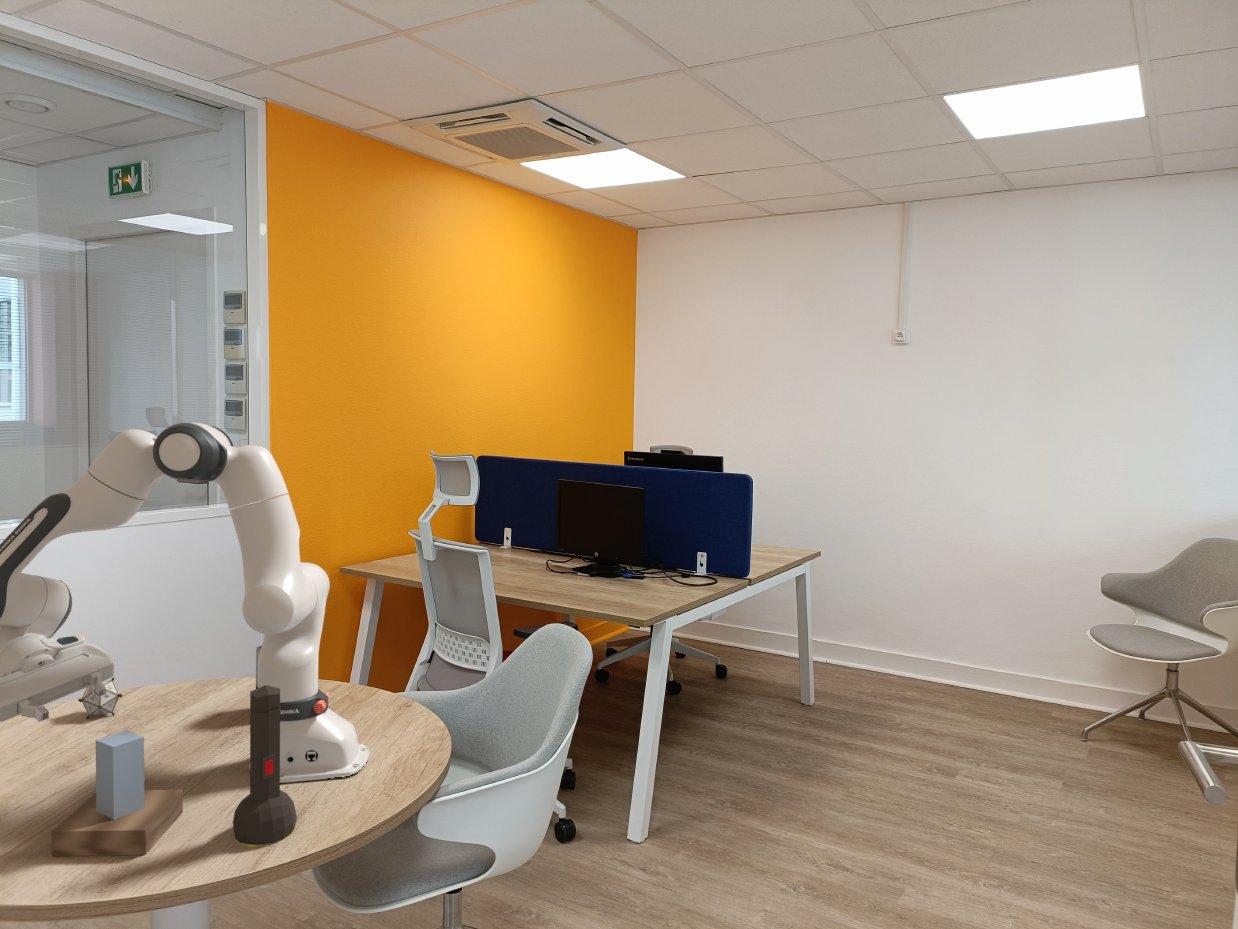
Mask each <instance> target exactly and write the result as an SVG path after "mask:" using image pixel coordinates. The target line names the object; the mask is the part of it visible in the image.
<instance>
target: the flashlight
mask: <svg viewBox="0 0 1238 929" xmlns="http://www.w3.org/2000/svg"><path fill="white" fill-rule="evenodd" d="M249 698H250V700H249V703H250V705H249V707H250V708H249V709H250V710H249V713H250V714H249V717H250V718H249V720H250V722H249V723H250V724H249V725H250V726H249V737H250V738H249V746H250V747H249V748H250V750H249V763H250V770H249V794H248V795H246V796H245V797H244V798H243V799H241V800H240V802H239V804H238V805H237V807H236V809H235V810H234V813H233V814H234V815H233V819H232V830H233V834H234V838H235V840H236V841H237V842H238V843H240V844H244V845H250V846H251V845H252V846H253V845H254V846H264V845H269V844H273V843H276V842H279V841H282V840H284V839H285V838H288V836H290V835H291V834H292V833H293V832H294V830H295V829H296V825H297V824H296V823H297V819H298V818H297V817H298V816H297V811H296V807H295V802H294V800H293V799H292V798H291V797H290V795H289V793H287V792H285V791H283V790H281V787H280V786H281V783H280V688H276V687H272V686H267V685H265V686H262V687H260V688H257V689H256V688H255V689H253V690H251V691H250V693H249Z"/></svg>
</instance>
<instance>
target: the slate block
mask: <svg viewBox="0 0 1238 929" xmlns="http://www.w3.org/2000/svg"><path fill="white" fill-rule="evenodd" d="M144 790H145V737H144V736H143V735H140V734H137V733H135V732H132V731H129V730H123V731H120V732H117V733H113V734H111V735H108V736H105V737H101V738H98V739H95V793H96V812H99V813H101V814H103V815H105V816H107V817H109V818H111V819H113V820H115V819H117V818H120V817H122V816H125V815H127V814H130V813H132V812H135V811H137V810H140V809H142V808H144Z"/></svg>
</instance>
